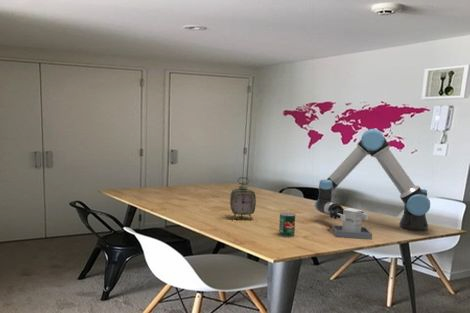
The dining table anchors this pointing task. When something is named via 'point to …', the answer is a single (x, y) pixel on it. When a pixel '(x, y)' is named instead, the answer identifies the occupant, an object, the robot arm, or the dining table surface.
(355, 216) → the supplement box
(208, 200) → the dining table surface
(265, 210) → the dining table surface
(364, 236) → the gray tray
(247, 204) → the tabletop clock
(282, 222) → the canned tomato
